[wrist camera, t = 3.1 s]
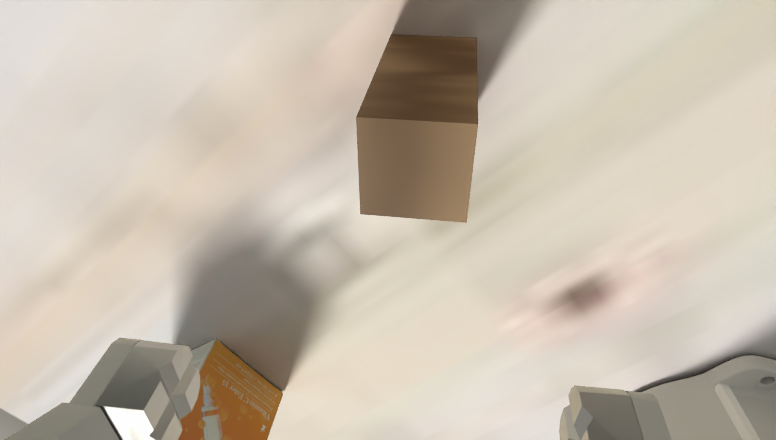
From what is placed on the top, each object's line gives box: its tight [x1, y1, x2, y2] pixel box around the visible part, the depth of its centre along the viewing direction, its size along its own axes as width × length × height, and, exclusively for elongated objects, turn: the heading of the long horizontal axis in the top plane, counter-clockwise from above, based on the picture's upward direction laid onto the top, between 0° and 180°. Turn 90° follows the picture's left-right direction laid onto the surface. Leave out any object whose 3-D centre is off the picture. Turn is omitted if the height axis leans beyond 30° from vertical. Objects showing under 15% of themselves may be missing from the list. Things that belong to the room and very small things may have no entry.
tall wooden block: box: [356, 35, 478, 223], centre depth 21 cm, size 4×4×9 cm
